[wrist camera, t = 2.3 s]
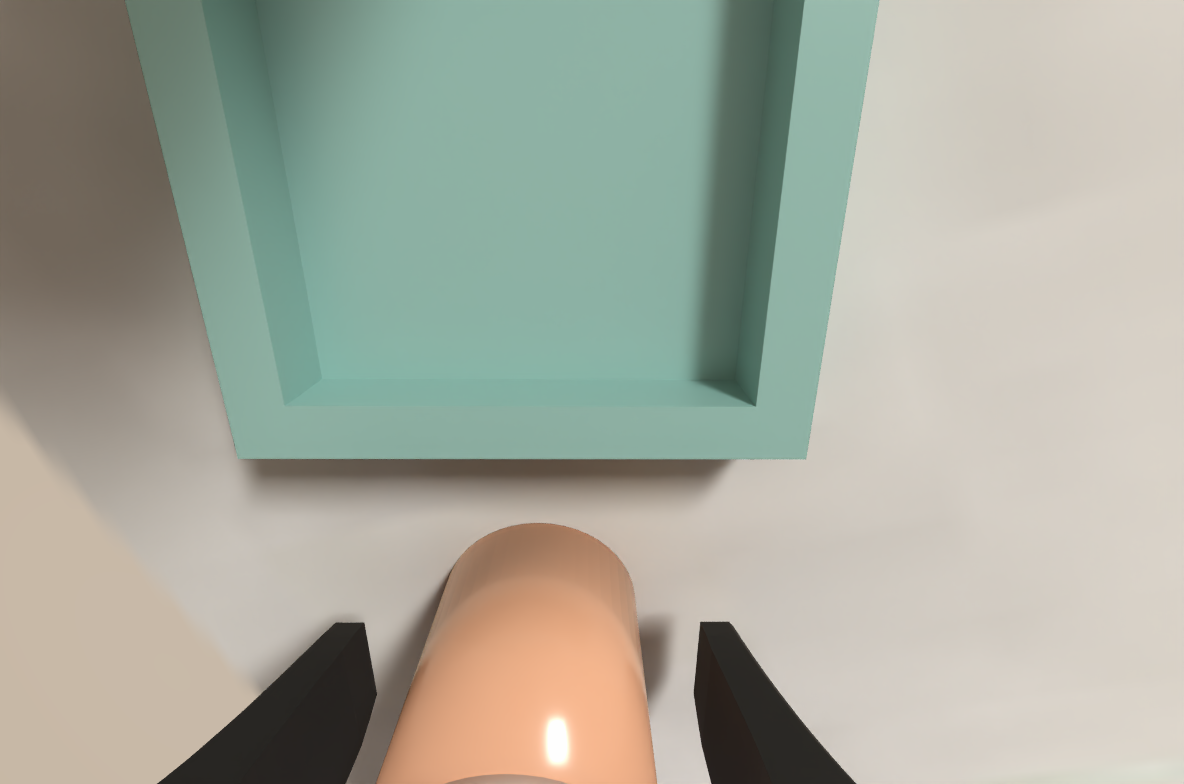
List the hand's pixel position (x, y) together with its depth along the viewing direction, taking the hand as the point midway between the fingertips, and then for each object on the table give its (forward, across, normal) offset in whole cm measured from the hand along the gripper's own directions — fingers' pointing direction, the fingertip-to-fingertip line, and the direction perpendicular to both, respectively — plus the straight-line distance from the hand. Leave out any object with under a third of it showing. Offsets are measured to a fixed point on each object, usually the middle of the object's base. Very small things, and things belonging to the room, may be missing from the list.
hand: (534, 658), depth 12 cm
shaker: (+2, 0, 0) cm, 2 cm away
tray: (+2, 0, -10) cm, 10 cm away
